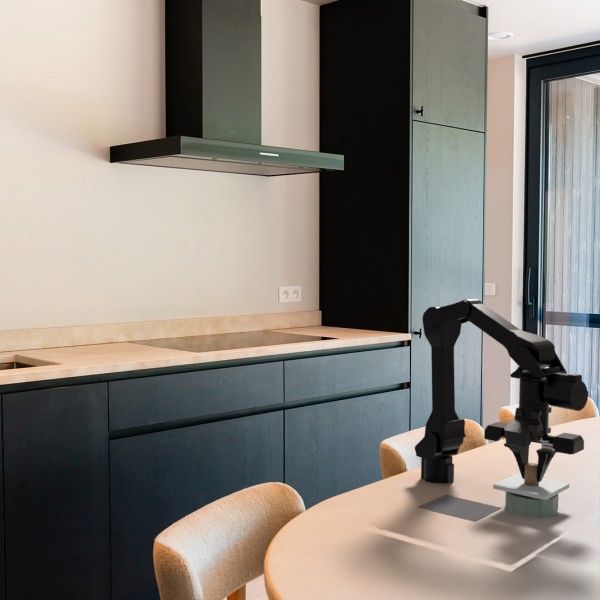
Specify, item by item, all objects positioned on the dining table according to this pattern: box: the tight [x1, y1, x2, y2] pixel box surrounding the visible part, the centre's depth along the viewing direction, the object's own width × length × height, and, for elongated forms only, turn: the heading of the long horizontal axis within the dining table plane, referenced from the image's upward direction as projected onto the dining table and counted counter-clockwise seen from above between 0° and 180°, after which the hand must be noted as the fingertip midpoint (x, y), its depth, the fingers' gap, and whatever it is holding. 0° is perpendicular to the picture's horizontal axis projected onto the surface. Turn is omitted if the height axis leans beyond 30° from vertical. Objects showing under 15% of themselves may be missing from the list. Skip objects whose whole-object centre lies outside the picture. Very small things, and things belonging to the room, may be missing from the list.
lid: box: [492, 462, 570, 500], centre depth 164 cm, size 11×11×5 cm
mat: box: [417, 494, 503, 523], centre depth 165 cm, size 13×11×1 cm
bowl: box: [504, 491, 559, 518], centre depth 164 cm, size 10×10×4 cm
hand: (531, 480), depth 164 cm, fingers closed on lid, 3 cm apart
